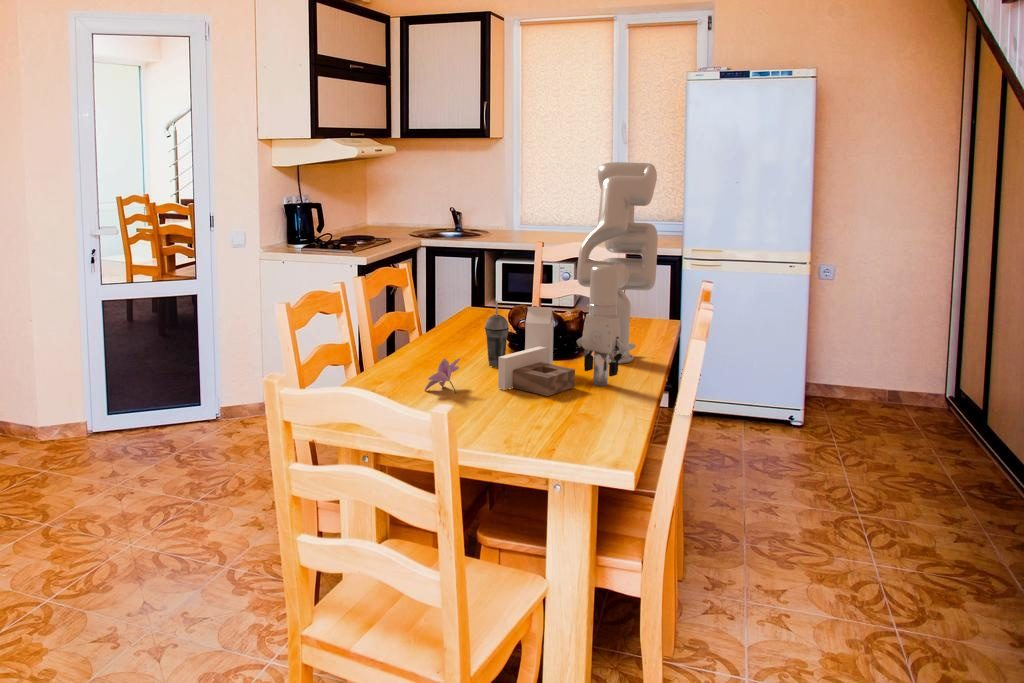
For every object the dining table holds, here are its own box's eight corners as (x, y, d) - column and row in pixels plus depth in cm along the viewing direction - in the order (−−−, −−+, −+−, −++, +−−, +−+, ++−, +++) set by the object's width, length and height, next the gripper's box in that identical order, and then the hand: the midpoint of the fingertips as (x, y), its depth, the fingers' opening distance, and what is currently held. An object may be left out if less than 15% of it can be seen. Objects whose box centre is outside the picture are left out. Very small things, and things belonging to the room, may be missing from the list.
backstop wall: (539, 376, 256) (540, 346, 254) (546, 378, 255) (546, 347, 253) (498, 389, 243) (498, 356, 241) (504, 390, 241) (505, 358, 239)
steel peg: (598, 381, 252) (599, 347, 249) (610, 384, 249) (611, 349, 247) (590, 384, 249) (591, 349, 246) (602, 387, 246) (603, 352, 244)
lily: (466, 388, 247) (451, 357, 247) (479, 382, 236) (463, 349, 237) (428, 406, 243) (413, 374, 243) (439, 401, 232) (424, 367, 232)
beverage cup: (509, 363, 271) (510, 298, 267) (507, 369, 264) (508, 302, 260) (486, 362, 272) (486, 297, 267) (482, 368, 265) (483, 301, 260)
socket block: (540, 379, 252) (540, 362, 251) (574, 387, 245) (575, 369, 244) (512, 387, 243) (513, 369, 242) (547, 396, 236) (548, 377, 235)
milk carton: (548, 374, 259) (550, 310, 254) (524, 373, 260) (525, 308, 256) (552, 368, 265) (554, 305, 261) (528, 367, 267) (530, 304, 263)
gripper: (569, 308, 247) (567, 370, 251) (622, 316, 236) (619, 381, 240) (585, 304, 253) (583, 365, 256) (637, 312, 242) (634, 375, 245)
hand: (600, 372), depth 248 cm, fingers open, 7 cm apart
